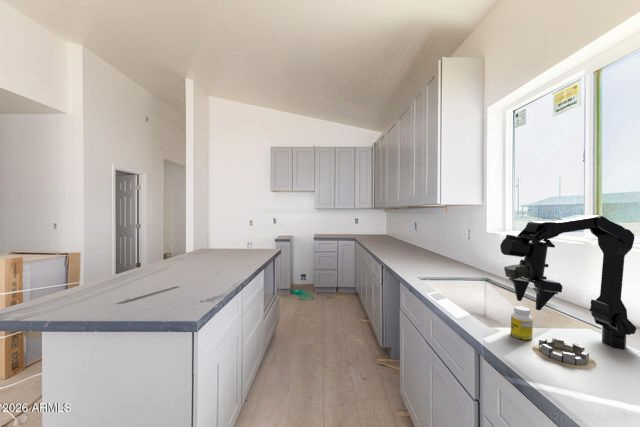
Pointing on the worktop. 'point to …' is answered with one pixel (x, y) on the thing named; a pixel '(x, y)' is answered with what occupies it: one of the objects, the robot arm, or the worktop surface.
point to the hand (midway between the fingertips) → (528, 305)
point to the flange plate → (588, 366)
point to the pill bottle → (521, 323)
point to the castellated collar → (566, 357)
